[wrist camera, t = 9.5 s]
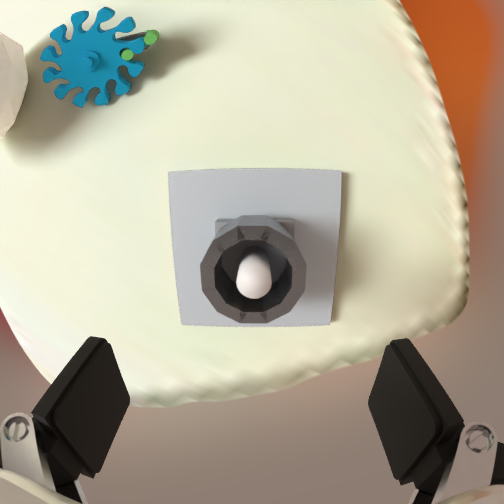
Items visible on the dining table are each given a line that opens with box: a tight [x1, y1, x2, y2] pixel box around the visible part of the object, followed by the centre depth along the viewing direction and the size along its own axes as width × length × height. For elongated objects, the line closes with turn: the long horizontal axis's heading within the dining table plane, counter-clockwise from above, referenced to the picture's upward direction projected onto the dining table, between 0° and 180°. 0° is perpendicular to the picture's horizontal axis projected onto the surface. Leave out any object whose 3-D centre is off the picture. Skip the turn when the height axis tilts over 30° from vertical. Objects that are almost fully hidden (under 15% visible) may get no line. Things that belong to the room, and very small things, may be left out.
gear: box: [40, 7, 159, 107], centre depth 17 cm, size 11×6×10 cm
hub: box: [200, 215, 307, 324], centre depth 20 cm, size 7×7×4 cm
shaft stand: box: [168, 168, 342, 327], centre depth 21 cm, size 14×14×7 cm
